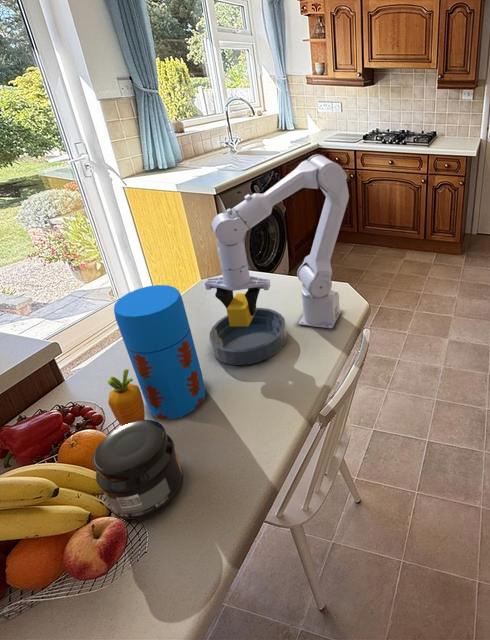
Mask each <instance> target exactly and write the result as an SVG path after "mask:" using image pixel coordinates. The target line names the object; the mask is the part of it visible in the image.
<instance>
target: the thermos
mask: <svg viewBox="0 0 490 640" xmlns="http://www.w3.org/2000/svg"><path fill="white" fill-rule="evenodd" d="M185 307H186V306H185V304H184V300H183V297H182V294H181V292H180V290H179V289H178V288H176V286H171V285H168V284H167V285H166V284H156V285H147V286H144V287H141V288H137V289H135V290H132V291H130V292H128V293H125V294H124V295H122V297H121V296H120V298H118V300H117V301H116V302H115V303H114V306H113V312H114V317H115V318H114V319H115V321H116V324H117V326H118V329H119V333H120V335H121V337H122V341H123V343H124V346H125V349H126V352H127V354H128V358H129V360H130V363H131V366H132V368H133V371H134V373H135V376H136V380H137V382H138V386H139V389H140V391H141V394H142V395H143V396H142V397H143V398H144V399H143V400H145V403H146V404H147V407H148V410H149V411H150V413H151V414H152V416H153V417H154V418H157V419H159V420H169V421H170V420H174V419H175V420H176V419H179V418H182V417H184V416H186V415H188V414H190V413H192V412H193V411H194V410H196V409H197V408H198V407H199V406H200V405H201V403H203V402H204V400H205V397H206V389H205V383H204V382H205V381H204V377H203V372H202V368H201V365H200V361H199V356H198V353H197V350H196V346H195V341H194V338H193V334H192V330H191V326H190V323H189V319H188V315H187V311H186V308H185Z"/></svg>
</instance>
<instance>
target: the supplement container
mask: <svg viewBox="0 0 490 640" xmlns="http://www.w3.org/2000/svg"><path fill="white" fill-rule="evenodd" d="M92 465H93V467H94V469H95V481H96V483H97V485H98V488H99V489H100V490H101V491H102V493H103V496H104V497H105V498H106V501H107V503H108V505H109V507H110V511H111V512H112V514H113V516H114V517H115V518H117V519H118V518H121V519H124V520H125V521H124V522H126V523H138V522H142V521H146V520H149V519H152V518H153V517H155V516H157V515H159V514H160V513H161V512H163V511H164V510H165V509H166V508H168V507H169V506H170V505H171V504H172V503H173V501H175V499H176V498H177V497H178V495H179V493H180V491H181V490H182V486H183V483H184V471H183V468H182V466H181V464H180V460H179V458H178V455H177V452H176V449H175V443H174V441H173V439H172V438H171V436H170V435H168V434H167V432H166V429H165V427H164V425H163V424H162V423H160V422H159V421H157V420H154V419H145V420H139V421H134V422H131V423H128V424H126V425H124V426H122V425H120V426H119V427H118V428H116V429H115V430H113V431H111V432H110V433H109V434H108V435H107V436H105V437H104V438H103V439H102V440H101V442H100V443H99V444H98V446H97V447H96V449H95V450H94V452H93V456H92ZM128 521H129V522H128ZM130 521H131V522H130Z"/></svg>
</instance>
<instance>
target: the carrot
mask: <svg viewBox="0 0 490 640" xmlns="http://www.w3.org/2000/svg"><path fill="white" fill-rule="evenodd" d="M129 371H130V369H129V368H126V369H124V370H123V375H122V381H120V379H118V378H117V377H115V376H113V375H112V376H110V377H109V379H108V381H107V384H108V385H109V386H110V387H111V388H113V389H112V390H111V391H110V392H109V394H108V400H107V403H108V406H109V409H110V411H111V412H112V414H113V417H114V418H115V420H116V421H117V422H118V424H119V425H120V426H124V425H126V424H128V423H131V422H134V421H139V420H146V419H145V418H146V415H145V403H144V399H143V396H142V395H143V394H142V391H141V388H140V386H139V385H136V384H133V383H131V382H132V381H134V378H132V377H131V378H128V375H129Z"/></svg>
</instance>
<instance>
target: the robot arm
mask: <svg viewBox="0 0 490 640" xmlns="http://www.w3.org/2000/svg"><path fill="white" fill-rule="evenodd" d="M347 179H348V174H347V173H346V172H345V170H344V168H343V167H342V166H341V165H340V164H339V163H337V162H334V161H332V160H330V159H329V158H328V157H326V156H324V155H323V154H319V153H318V154H313V155H311V156H310V157H309V158H307V159H305V160H303V161H301V162H300V163H299V164H298V165H297V166H296V167H295V168H294V169H293V170H292V171H290V172H289V173H288V174H287V175H285V177H283V178H281V179H280V180H279V181H278V182H276V183H275V184H274V185H272V186H271V187H270V188H269V189H267V190H266V191H265V192H263V193H259V192H254V193H253V194H251V195H250V193H247V194H246V195H244V200H242V201H241V202H240V203H238V204H236V205H235V206H234V207H232V208H230V207H229V208H227V209H226V210H225V212H221V213H218V214H217V215H216V216H214V217H213V220H212V221H211V225H210V229H211V230H212V232H213V233H214V235H215V239H216V242H215V243H216V246H217V249H216V250H217V255H218V258H219V259H218V260H219V264H220V268H221V273H222V276H221V277H213V278H207V279H206V280H205V281H204V287H205V290H206V291H210V290H212V289H215V290H216V292H215V294H214V295H215V298H216V299H217V300H219V301H220V302H221V303H222V304H223V306H224V307H225V309H226V310H227V308H228V306H229V304H230V303H231V301H232V300H233V298H234V291H243V290H246V292H245V293H246V294H245V297H246V299H247V302H248V305H249V311H250V315H251V316H253V315H254V314H255V312H256V308H257V301H258V297H259V293H260V291H261V290H264V291H269V290H270V289H271V280H270V278H263V277H262V278H261V277H257V276H252V275H250V269H249V263H248V259H247V258H248V257H247V253H246V246H245V243H244V239H245V236H246V233H247V231H249V230H251V229H252V228H253V227H255V226H256V225H258V224H259V223H260V222H262V221H263V220H265V219H266V218H268V217H269V216H270V215H271V214H272V212H273V207H274V206H275V205H277V204H279V203H281V202H282V201H283V200H285V199H286V198H288V197H290V196H291V195H293V194H295V193H297V192H298V191H299V190H301V189H313V190H314V189H315V190H318V189H320V190H321V191H322V194H323V195H324V196H325V199H324V203H323V206H322V210H321V214H320V217H319V221H318V225H317V227H316V231H315V235H314V239H313V242H312V246H311V250H310V253H309V254H308V255H306V256H304V259H303V262H302V264H301V265H300V266H299V267H298V269H297V273H296V275H297V279H298V280H299V281H300V282H301V283H302V285H301V290H300V292H301V300H302V301H301V302H302V312H303V315H302V316H301V318H300V320H299V322H298V325H299V326H308V327H316V328H324V329H333V328H334V326H335V324H336V322H337V320H338V319H339V316H340V314H341V310H340V295H339V292H338V291H335V290H332V286H333V281H332V276H333V269H332V265H331V259H332V256H333V253H334V249H335V246H336V242H337V239H338V236H339V233H340V229H341V225H342V222H343V219H344V217H345V213H346V208H347V207H348V206H347V205H348V202H349V199H350V193H349V187H348V182H347Z"/></svg>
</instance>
